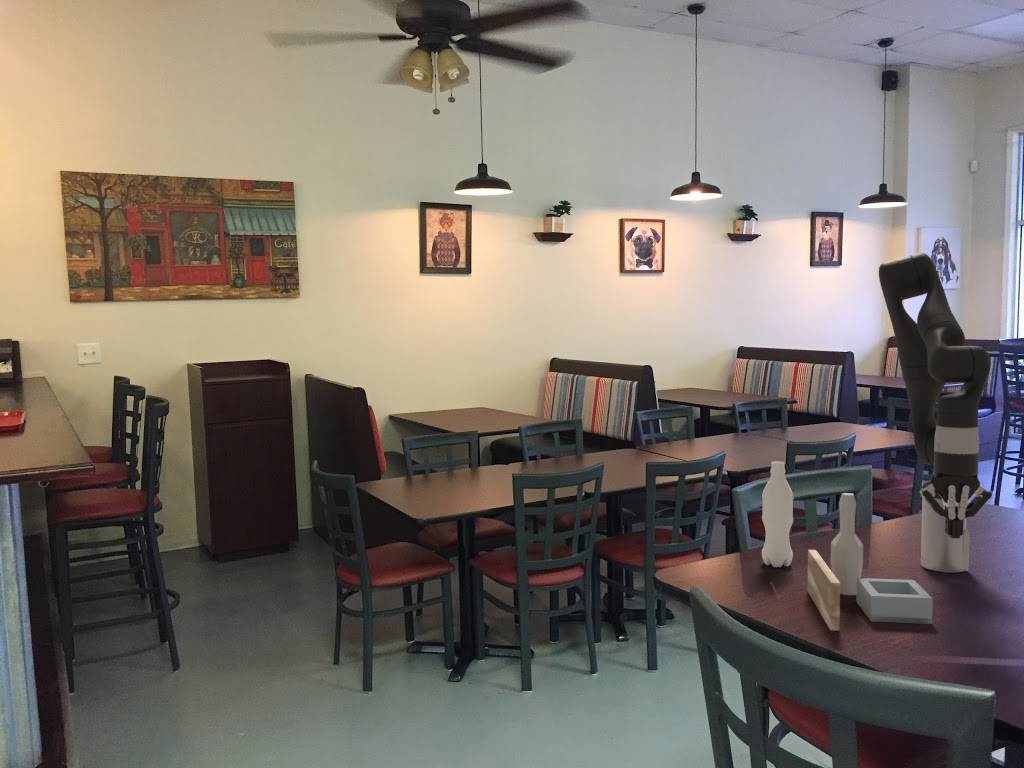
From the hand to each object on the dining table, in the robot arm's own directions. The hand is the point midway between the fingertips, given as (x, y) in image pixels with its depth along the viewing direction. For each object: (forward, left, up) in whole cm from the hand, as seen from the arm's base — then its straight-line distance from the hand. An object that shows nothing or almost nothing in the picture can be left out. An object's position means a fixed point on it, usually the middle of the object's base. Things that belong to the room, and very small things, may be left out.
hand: (953, 537), depth 158 cm
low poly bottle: (+17, -12, -17) cm, 27 cm away
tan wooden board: (+14, 0, -16) cm, 21 cm away
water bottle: (+28, -33, -17) cm, 46 cm away
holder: (+11, 0, -16) cm, 19 cm away
